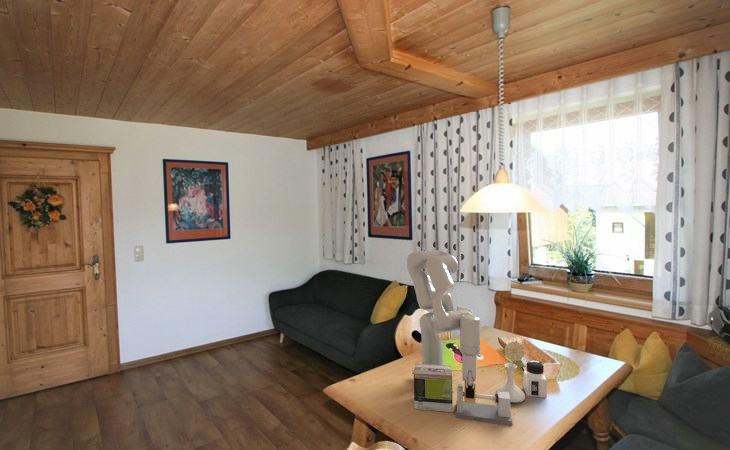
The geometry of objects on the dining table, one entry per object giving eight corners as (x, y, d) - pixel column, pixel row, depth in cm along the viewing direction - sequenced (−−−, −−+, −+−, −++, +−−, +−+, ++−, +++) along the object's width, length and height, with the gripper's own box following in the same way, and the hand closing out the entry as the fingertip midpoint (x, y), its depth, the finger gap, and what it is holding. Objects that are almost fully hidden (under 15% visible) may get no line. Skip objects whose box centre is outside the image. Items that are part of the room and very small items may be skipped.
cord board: (455, 417, 141) (455, 393, 141) (456, 404, 151) (456, 381, 150) (512, 425, 136) (512, 399, 136) (509, 410, 146) (509, 386, 145)
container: (546, 398, 155) (547, 367, 154) (527, 396, 156) (527, 366, 156) (542, 389, 162) (542, 359, 162) (523, 387, 164) (523, 358, 163)
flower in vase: (489, 394, 158) (490, 336, 157) (510, 389, 163) (511, 332, 161) (513, 410, 146) (513, 347, 145) (534, 403, 151) (535, 342, 149)
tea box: (452, 400, 154) (452, 365, 153) (452, 413, 144) (452, 376, 144) (415, 396, 157) (415, 362, 156) (413, 409, 147) (413, 372, 147)
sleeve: (464, 402, 143) (464, 383, 143) (464, 396, 147) (464, 378, 147) (475, 403, 142) (475, 384, 142) (475, 398, 146) (475, 379, 146)
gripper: (460, 339, 152) (460, 383, 153) (459, 355, 136) (459, 404, 137) (479, 341, 151) (479, 385, 151) (481, 357, 134) (480, 407, 135)
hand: (469, 394), depth 144 cm, fingers closed on sleeve, 4 cm apart
